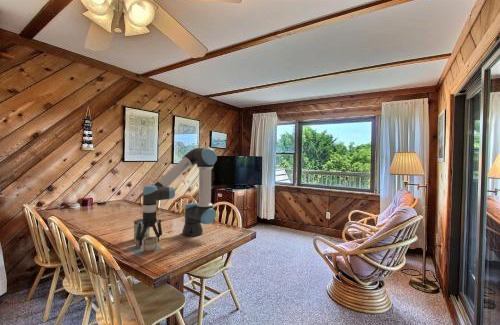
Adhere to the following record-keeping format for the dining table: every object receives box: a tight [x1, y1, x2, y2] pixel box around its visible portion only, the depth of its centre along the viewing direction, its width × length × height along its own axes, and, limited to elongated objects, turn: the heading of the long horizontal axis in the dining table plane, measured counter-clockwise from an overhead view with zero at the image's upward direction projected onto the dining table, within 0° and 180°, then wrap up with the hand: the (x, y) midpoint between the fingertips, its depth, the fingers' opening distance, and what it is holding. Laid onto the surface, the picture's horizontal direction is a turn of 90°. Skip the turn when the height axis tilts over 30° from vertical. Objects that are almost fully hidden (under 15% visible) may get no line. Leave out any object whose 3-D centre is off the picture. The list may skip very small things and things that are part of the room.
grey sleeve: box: [134, 232, 147, 248], centre depth 163 cm, size 7×7×8 cm
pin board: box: [126, 245, 165, 257], centre depth 158 cm, size 16×18×7 cm
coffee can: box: [133, 218, 151, 243], centre depth 175 cm, size 10×10×14 cm
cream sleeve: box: [143, 235, 156, 255], centre depth 154 cm, size 7×7×8 cm
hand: (149, 249), depth 154 cm, fingers open, 8 cm apart
